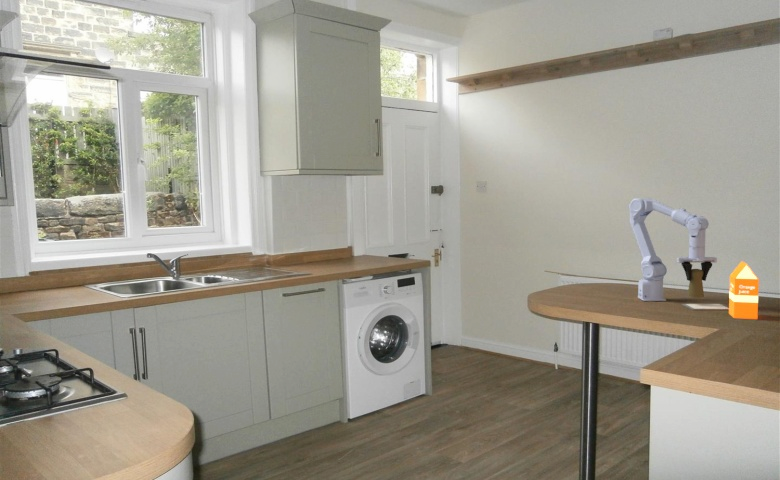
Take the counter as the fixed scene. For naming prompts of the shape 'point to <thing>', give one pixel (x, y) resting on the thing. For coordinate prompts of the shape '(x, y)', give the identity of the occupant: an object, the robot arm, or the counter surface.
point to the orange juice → (743, 293)
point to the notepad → (706, 306)
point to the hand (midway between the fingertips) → (696, 280)
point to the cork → (696, 284)
